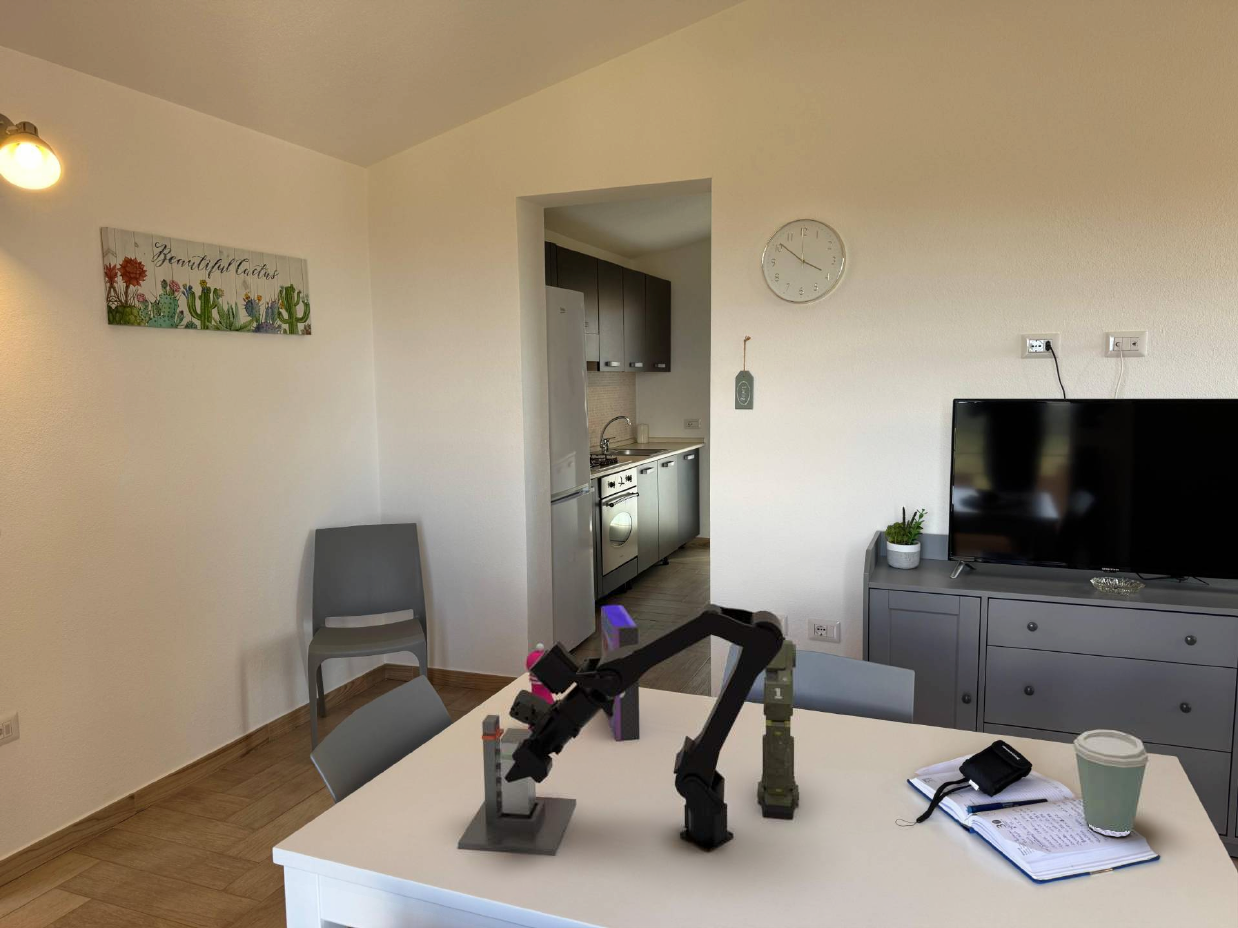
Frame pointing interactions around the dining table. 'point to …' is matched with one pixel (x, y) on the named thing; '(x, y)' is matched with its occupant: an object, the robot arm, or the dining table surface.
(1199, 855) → the dining table surface
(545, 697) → the pepper mill
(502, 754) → the jack column
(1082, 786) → the disposable coffee cup
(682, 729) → the dining table surface
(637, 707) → the cereal box
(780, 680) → the mechanical leg
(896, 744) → the dining table surface
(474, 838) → the grey square stand
